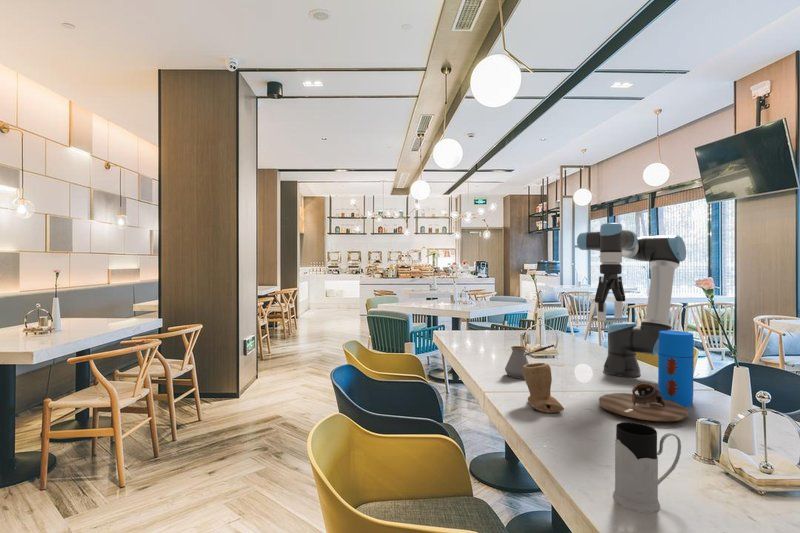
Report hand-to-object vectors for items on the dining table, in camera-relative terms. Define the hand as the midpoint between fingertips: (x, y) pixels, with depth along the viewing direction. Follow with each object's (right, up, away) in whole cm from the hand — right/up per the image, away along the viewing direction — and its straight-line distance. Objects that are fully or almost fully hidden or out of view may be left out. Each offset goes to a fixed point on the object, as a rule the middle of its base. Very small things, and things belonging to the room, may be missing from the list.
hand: (610, 319), depth 165 cm
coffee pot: (-23, -29, +25) cm, 45 cm away
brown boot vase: (-31, -29, -15) cm, 45 cm away
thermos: (+20, -29, -8) cm, 36 cm away
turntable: (+1, -27, -20) cm, 34 cm away
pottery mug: (+2, -26, -21) cm, 33 cm away
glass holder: (-29, -29, -75) cm, 85 cm away
